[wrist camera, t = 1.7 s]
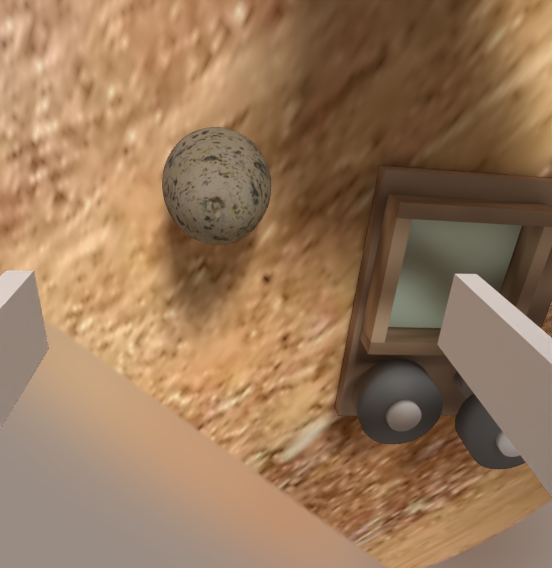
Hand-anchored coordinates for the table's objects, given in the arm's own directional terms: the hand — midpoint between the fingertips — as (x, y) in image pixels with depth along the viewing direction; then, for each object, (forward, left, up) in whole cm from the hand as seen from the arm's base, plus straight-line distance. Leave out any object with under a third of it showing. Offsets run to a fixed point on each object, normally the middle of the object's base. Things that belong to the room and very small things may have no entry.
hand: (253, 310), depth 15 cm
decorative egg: (-1, -1, -17) cm, 17 cm away
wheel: (+14, +19, -11) cm, 26 cm away
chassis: (+8, +17, -17) cm, 25 cm away
